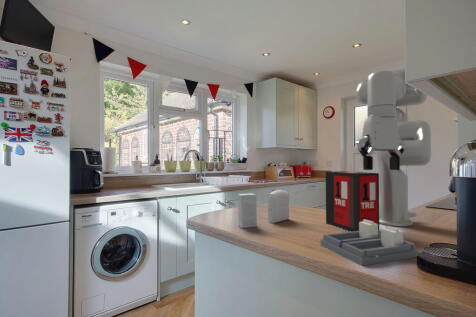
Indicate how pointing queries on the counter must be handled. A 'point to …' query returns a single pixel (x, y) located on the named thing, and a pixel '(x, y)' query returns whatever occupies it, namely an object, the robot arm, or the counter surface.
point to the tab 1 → (368, 228)
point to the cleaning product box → (351, 199)
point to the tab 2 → (391, 236)
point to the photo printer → (278, 206)
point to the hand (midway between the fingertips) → (381, 169)
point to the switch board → (367, 248)
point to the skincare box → (247, 210)
